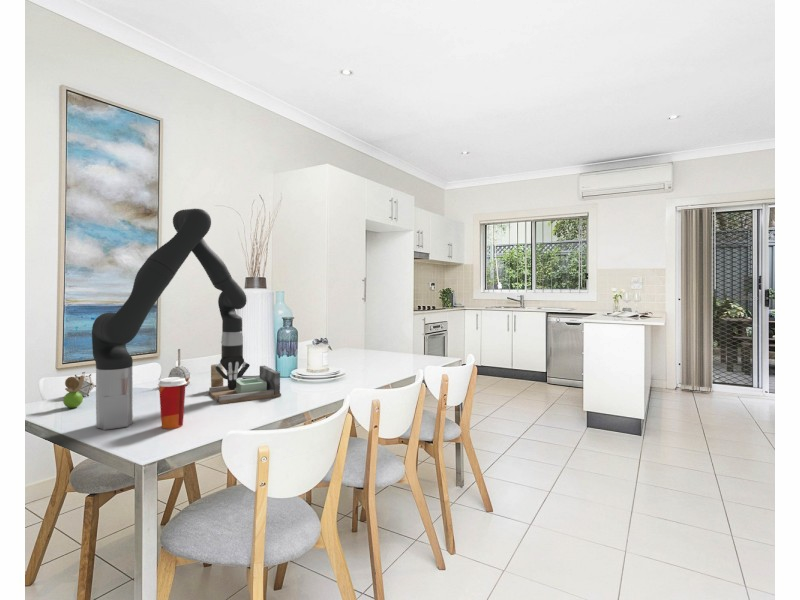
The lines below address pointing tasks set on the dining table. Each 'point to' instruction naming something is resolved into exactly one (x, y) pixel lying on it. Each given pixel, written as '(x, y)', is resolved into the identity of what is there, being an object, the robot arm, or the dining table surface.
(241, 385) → the green square tray
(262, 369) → the track
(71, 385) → the snail figurine
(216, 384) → the dowel
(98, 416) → the robot arm
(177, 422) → the paper cup
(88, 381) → the spiky polyhedron ball
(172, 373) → the decorative ornament
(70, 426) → the dining table surface
